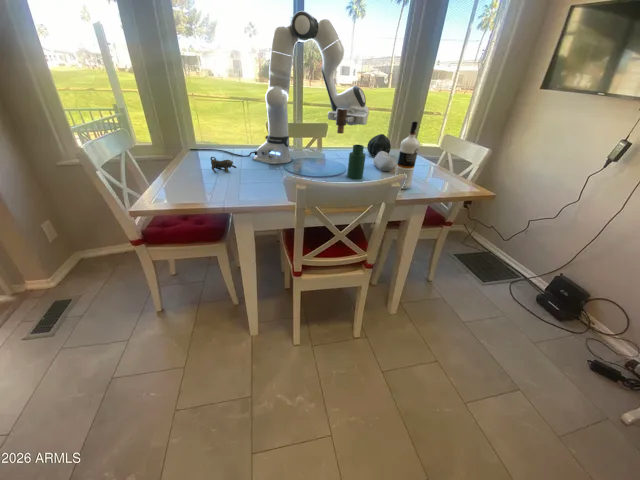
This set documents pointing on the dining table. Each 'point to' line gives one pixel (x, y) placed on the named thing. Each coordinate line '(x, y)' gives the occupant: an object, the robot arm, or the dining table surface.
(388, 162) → the decorative stone
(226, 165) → the dog figurine
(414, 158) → the vodka
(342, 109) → the stopper
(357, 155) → the bottle
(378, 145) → the squash
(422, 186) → the dining table surface
